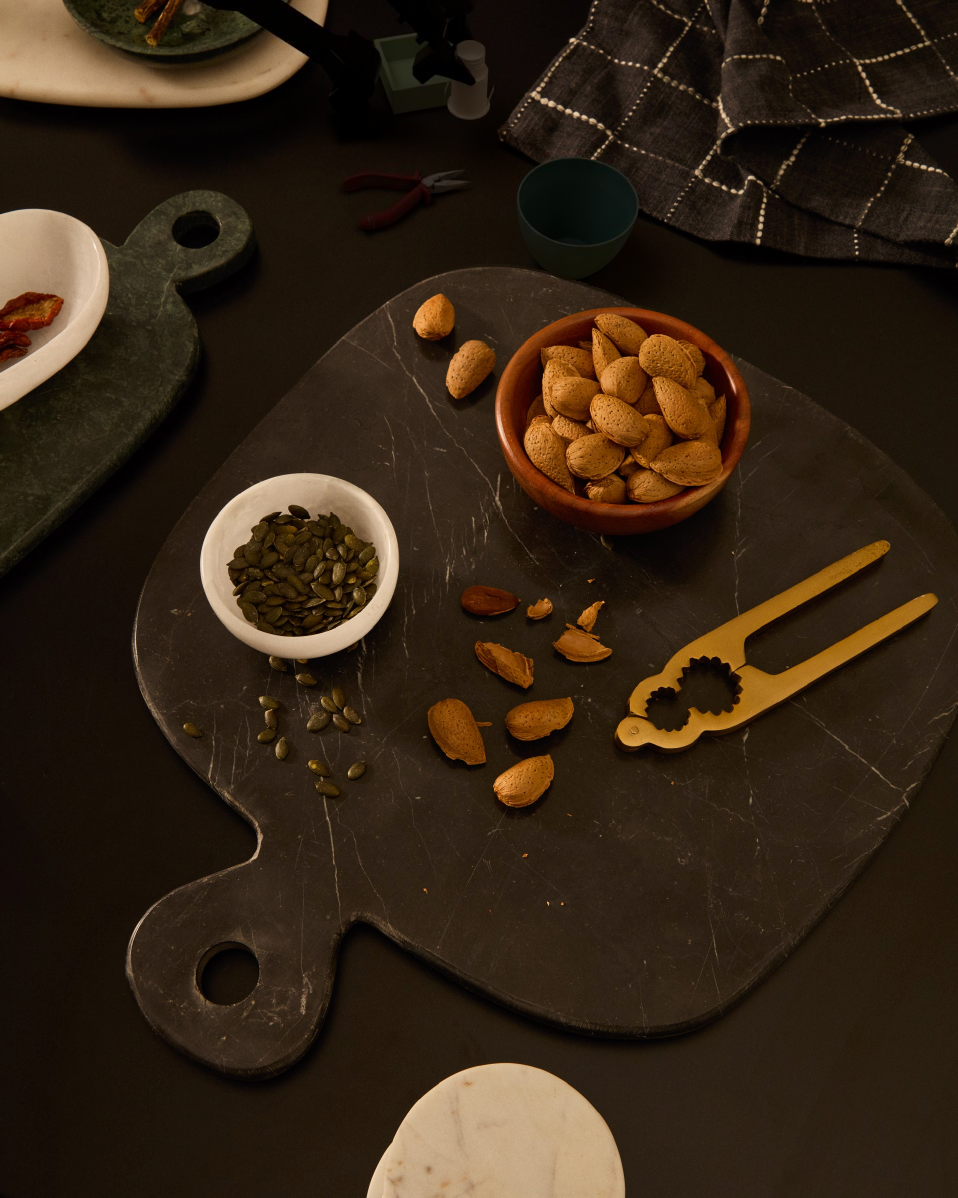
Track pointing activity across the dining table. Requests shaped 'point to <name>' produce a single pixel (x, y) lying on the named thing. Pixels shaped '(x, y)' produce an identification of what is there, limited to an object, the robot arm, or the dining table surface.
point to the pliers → (415, 184)
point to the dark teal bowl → (575, 215)
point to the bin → (408, 76)
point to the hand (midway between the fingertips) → (476, 70)
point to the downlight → (465, 97)
